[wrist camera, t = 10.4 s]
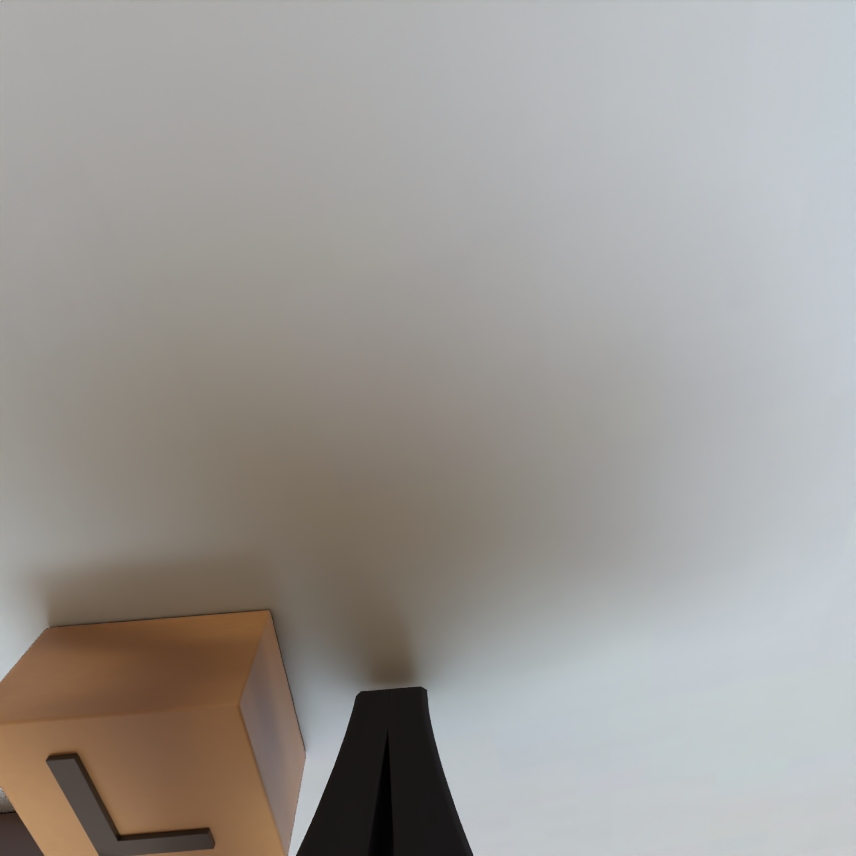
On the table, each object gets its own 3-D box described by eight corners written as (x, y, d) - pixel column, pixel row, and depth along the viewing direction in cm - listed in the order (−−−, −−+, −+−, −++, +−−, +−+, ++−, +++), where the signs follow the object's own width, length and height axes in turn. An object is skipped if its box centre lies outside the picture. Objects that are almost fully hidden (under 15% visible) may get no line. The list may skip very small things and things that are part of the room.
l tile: (115, 771, 12) (56, 888, 10) (46, 626, 10) (-46, 733, 8) (306, 755, 12) (286, 868, 10) (270, 608, 11) (236, 710, 8)
